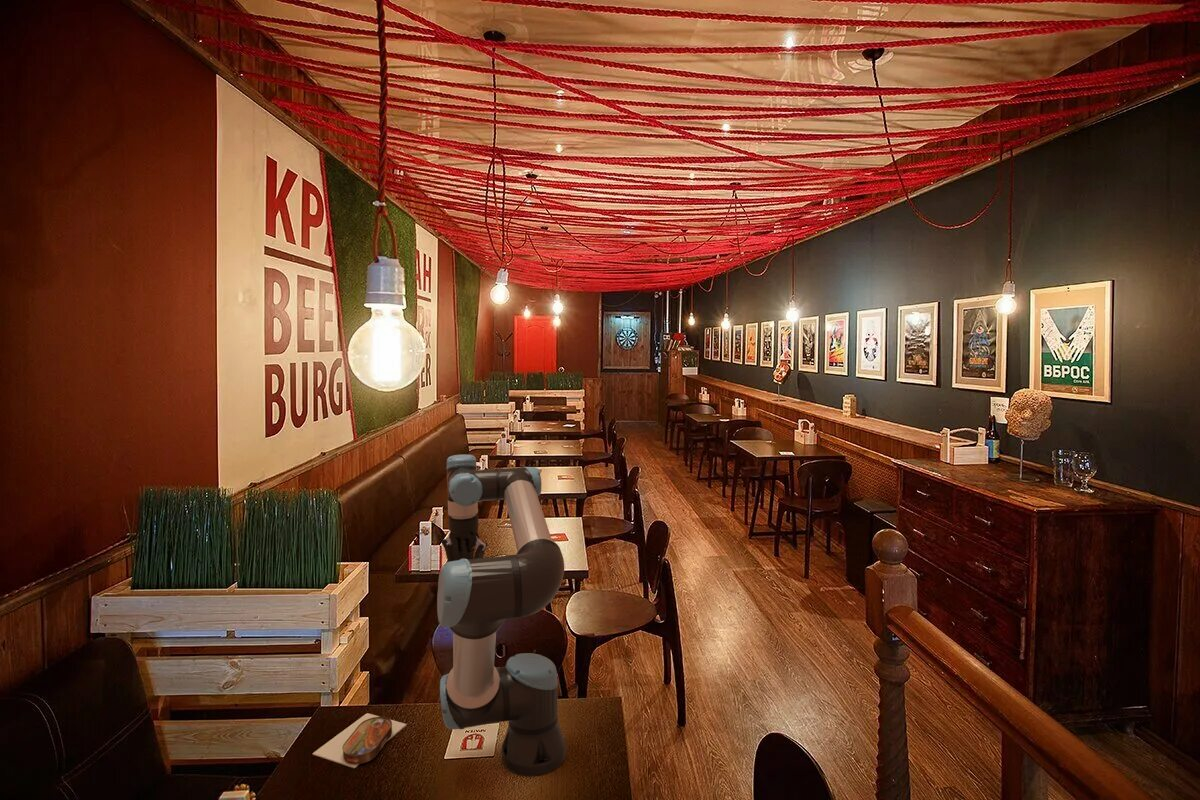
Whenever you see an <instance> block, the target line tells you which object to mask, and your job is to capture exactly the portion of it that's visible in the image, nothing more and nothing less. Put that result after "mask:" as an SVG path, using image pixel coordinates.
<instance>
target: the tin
mask: <svg viewBox="0 0 1200 800" xmlns="http://www.w3.org/2000/svg"><path fill="white" fill-rule="evenodd" d="M391 720H392V719H390V718H388V717H386V716H379V717H374V718H370V719H367V720H365V721H363V722H362V723H361V724H359V726H358V727H357V728H356V729H355V731H354V732H353V733H352V734H351V736H350V737H349V738H348V739H347V740H346V742H345V743H344V745H343V748H342V749H343V757H344V760H345V761H346V762H348V763H354V764H359V765H362V764H365V763H368V762H371V761H372V760H374V759H375V758H376V757H377V755H378V754H379V753H380V752H381V751H382V749H383V748H384V746H385V744H386V743H387V742H388V741H389V740H390V739H389V738H390V736H391V734H392V721H391ZM388 739H389V740H388Z"/></svg>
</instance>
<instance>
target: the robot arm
mask: <svg viewBox="0 0 1200 800" xmlns="http://www.w3.org/2000/svg"><path fill="white" fill-rule="evenodd" d="M445 470H446V485H447V510H448V511H447V514H448V519H447V520H448V530H449V534H448V537H445V538H444V539H442V540H441V543H440V544H441V545H442V547H443V548H444V551H445V556H446V561H447V562H445V563H444V564H443V565H442V567H441V568H440V570H439V575H438V581H437V594H436V596H437V597H436V598H437V599H436V600H437V601H436V604H437V605H436V606H437V607H436V608H437V609H436V611H437V619H438V621H437V622H438V623H439V625H440V626H441V627H447V628H448V629H449V630H450V631H451V632H452V635H453V636H452V643H453V645H452V648H453V649H452V650H453V652H452V654H453V655H452V656H453V657H452V658H453V659H452V660H453V661H452V662H453V663H452V664H453V665H452V666H453V667H452V668H451V669H450V671H449V673H447V674H444V675H442V676H441V678H440V680H439V696H440V697H439V699H440V707H441V715H442V721H443V724H444V726H445V727H446V729H448V730H465V729H468V728H472V727H473V728H474V727H479V726H480V727H481V726H485V725H490V724H497V723H503V722H507V723H508V724H507V725H508V726H507V728H506V731H505V736H504V738H503V742H502V744H501V762H502V764H503V766H504V768H506V769H507V770H508V771H510V772H512V773H514V774H517V775H519V776H525V777H526V776H529V777H533V776H534V777H535V776H540V775H544V774H545V775H546V774H547V773H550V772H553V771H554V770H556V769H557V768H559V766H561V765H562V763H563V762H564V761H565V759H566V755H567V743H566V739H565V738H564V734H563V731H562V729H561V725H560V723H559V712H558V711H559V710H558V709H559V705H558V703H559V702H558V701H559V700H558V696H559V695H558V687H559V681H558V671H557V667H556V665H555V663H554V662H553V661H552V660H551V659H549V658H548V657H546V656H544V655H542V654H539V653H538V654H537V653H533V652H529V653H528V652H525V653H516V654H515V655H512V656H510V657H509V658H508V659H507V661H506V663H505V665H504V666H500V667H499V666H498V667H496V666H495V656H496V655H495V654H496V640H497V638H496V637H497V632H498V631H499V629H500V628H501V627H502V625H503V624H504V622H505V620H510V619H511V620H512V619H515V618H517V619H518V618H524V617H525V618H526V617H530V616H532V615H535V614H537V613H538V612H540V611H542V610H543V609H545V607H547V606H548V605H549V604H550V603H551V602H552V600H553V599H554V598H555V597H556V595H557V593H558V591H560V590H559V589H560V587H561V585H562V583H563V580H564V575H565V559H564V556H563V553H562V550H561V548H560V546H559V545H558V543H556V542H555V541H554V540H553V539H552V536H551V533H550V530H549V526H548V523H547V521H546V518H545V515H544V511H543V508H542V506H541V502H540V499H539V496H540V495H541V493H542V477H541V472H540V469H539V468H538V467H536V466H520V467H507V468H505V467H504V468H494V469H493V468H492V469H479V470H478V465H477V458H476V456H475V455H473V454H466V453H465V454H463V453H462V454H454V455H451V456H448V458H447V459H446V468H445ZM498 500H499V501H500V500H504V502H505V505H506V509H507V514H508V518H509V521H510V523H509V524H510V526H511V530H512V535H513V538H514V542H515V546H516V551H517V552H516V554H507V555H506V554H505V555H497V556H490V557H489V556H488V557H484V555H485V551H486V549H487V547H488V543H487V542H486V541H485V542H483V541H482V540H481V539H480V535H479V532H478V531H479V515H478V513H479V508H478V507H479V505H478V502H487V501H498Z"/></svg>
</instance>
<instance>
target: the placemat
mask: <svg viewBox="0 0 1200 800" xmlns="http://www.w3.org/2000/svg"><path fill="white" fill-rule="evenodd" d="M374 717H380V716H379V715H375V714H373V713H372V714H371V713H365V714H364V715H362V716H361V717H359V718H358V719H357V720H356V721H354V722H353V723H352V724H351V725H349V726H348V727H346V728H345V729H344V730H342V731H341V732H339V733H337V734H336V736H334V737H333V738H332V739H331V738H330V740H328V741H327V742H326V743H325V744H323V745H322V746H320V747H319V748H318V749H317V750H315V751H314V752H313V753H312V756H316V757H320V758H322V759H326V760H328V761H331V762H334V763H337V764H340V765H342V766H346V767H349V768H351V769H355V768H357V767H359V765H360V764H354V763H348V762H346V761H345V760H344V757H343V749H342V748H343V745H344V743H345V742H346V740H347V739H348V738H349V737H350V736H351V734H352V733H353V732H354V731H355V729H356V728H357V727H358V726H359V724H361V723H362V722H363V721H365V720H367V719H370V718H374ZM390 720H391V721H392V734H391V736H390V738H389V739H388V741H390V739H392V738H393V737H394V736H396V735H397V734H398V733H399V732H401V731H402V730H403V729H404V728H405V727H406V726H407V723H404V722H401V721H397V720H393V719H390Z"/></svg>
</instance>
